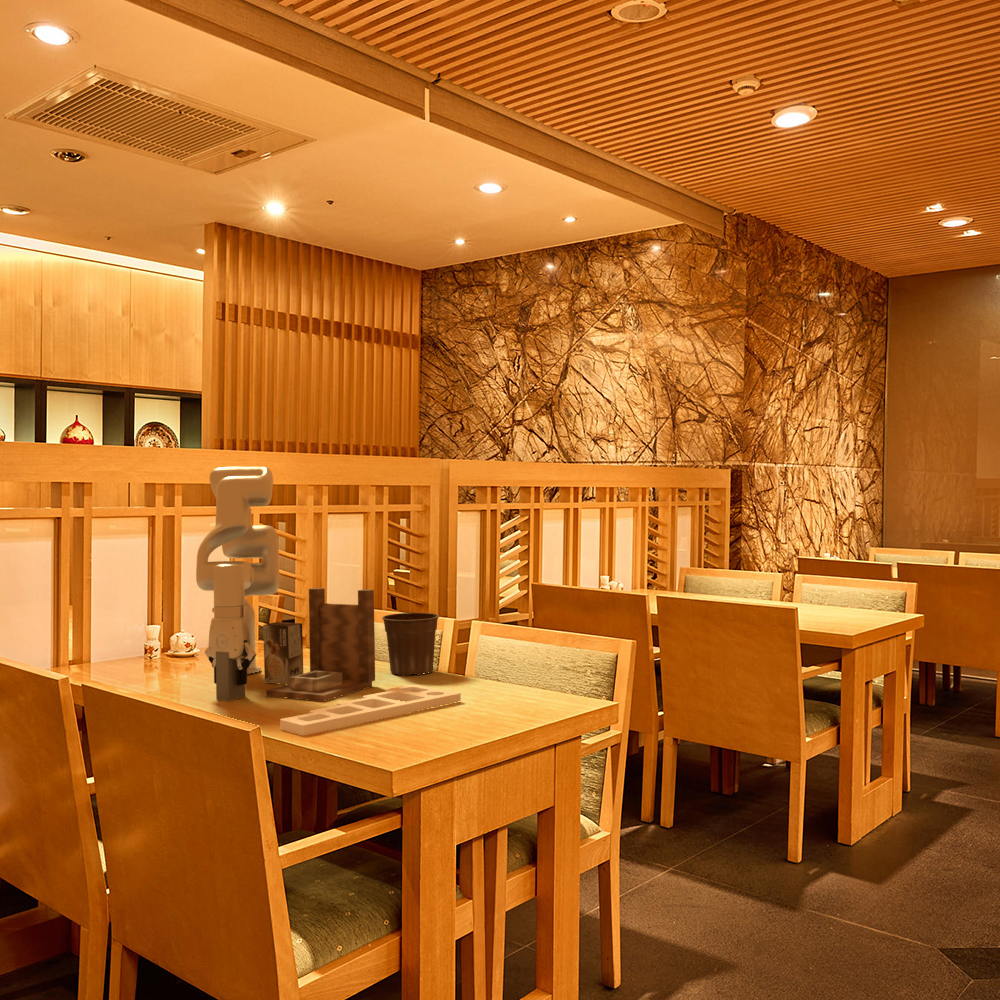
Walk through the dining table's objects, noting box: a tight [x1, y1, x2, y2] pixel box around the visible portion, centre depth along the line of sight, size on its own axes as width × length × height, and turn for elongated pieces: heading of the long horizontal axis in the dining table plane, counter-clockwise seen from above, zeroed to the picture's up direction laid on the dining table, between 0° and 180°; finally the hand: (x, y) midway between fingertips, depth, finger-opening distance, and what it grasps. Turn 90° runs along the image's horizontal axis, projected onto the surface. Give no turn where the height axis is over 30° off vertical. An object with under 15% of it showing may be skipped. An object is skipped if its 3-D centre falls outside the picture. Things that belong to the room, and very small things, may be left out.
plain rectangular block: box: [215, 651, 246, 702], centre depth 245 cm, size 4×6×12 cm, turn 154°
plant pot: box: [381, 612, 440, 676], centre depth 278 cm, size 16×16×16 cm
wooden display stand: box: [265, 587, 376, 702], centre depth 253 cm, size 19×22×26 cm
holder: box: [279, 683, 462, 736], centre depth 226 cm, size 45×18×3 cm, turn 135°
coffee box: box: [262, 621, 304, 685], centre depth 266 cm, size 9×6×16 cm
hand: (230, 683), depth 245 cm, fingers open, 6 cm apart
